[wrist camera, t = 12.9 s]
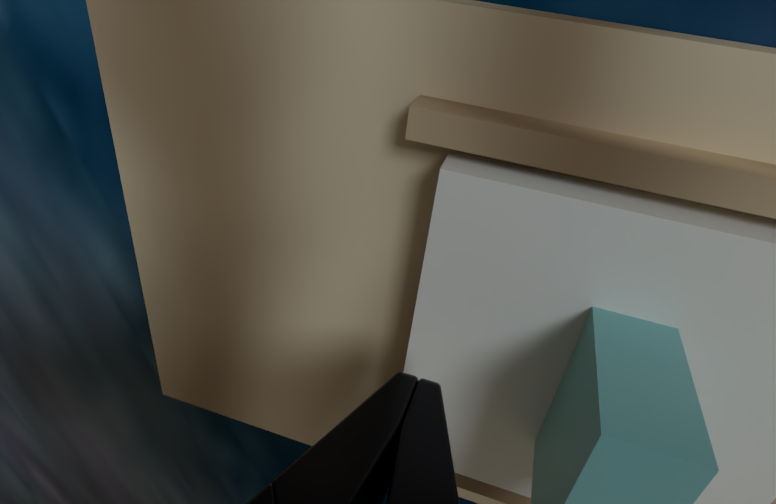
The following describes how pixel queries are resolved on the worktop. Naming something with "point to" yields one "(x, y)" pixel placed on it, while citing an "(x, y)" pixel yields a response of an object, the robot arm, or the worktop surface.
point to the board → (378, 168)
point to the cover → (598, 338)
